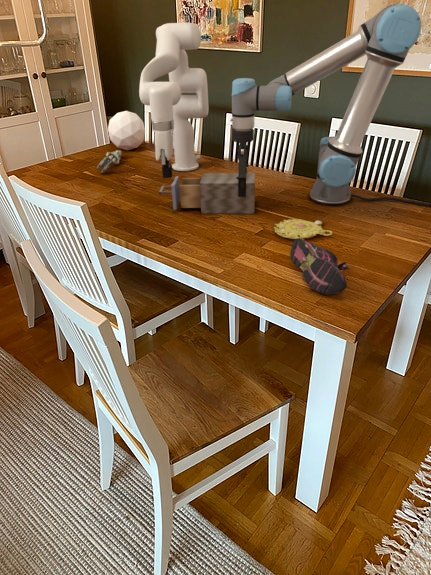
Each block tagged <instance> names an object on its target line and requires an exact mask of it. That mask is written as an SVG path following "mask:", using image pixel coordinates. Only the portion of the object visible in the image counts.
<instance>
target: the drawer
mask: <svg viewBox="0 0 431 575" xmlns="http://www.w3.org/2000/svg"><path fill="white" fill-rule="evenodd" d="M201 178H202V177H182V178H181V181H182V184H180V176H178V175H177V176H175V177H174V179H173V181H172V183H171V185H170V186H165V185H161V187H160V189H159V190H158V195H161V196H162V195H165V194H167V195H168V194H170V195H171V197H172V210H173V211H177V210H178V207H179V205H180V208H181V209H201V197H200V181H201ZM166 189H168V190H169V189H171V191H165V190H166Z"/></svg>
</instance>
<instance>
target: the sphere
mask: <svg viewBox="0 0 431 575" xmlns="http://www.w3.org/2000/svg"><path fill="white" fill-rule="evenodd" d="M107 131H108V135H109V141H111V142H112V143H113V145H115V146H116V148H118V149H122V150H125V151H130V150H134V149H136V148H138V147H139V146H141V145H142V144H143V143H144V142H145V136H146V129H145V124H144V121H143V120H142V119H141V117H140V116H139V115H138V114H137V113H136V112H132V111H129V110H124V111H120V112H116V114H115V115H113V116H112V117H111V118H110V119H109V122H108V125H107Z"/></svg>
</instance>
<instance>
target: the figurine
mask: <svg viewBox="0 0 431 575" xmlns="http://www.w3.org/2000/svg"><path fill="white" fill-rule="evenodd" d="M122 153H123V152H122V150H115V151H111V152H110V151H107V152H106V153H105V155H106V156H104V157H103V158H102V159H101V161H100V162H99V163H98V165H97V167H96V169H97V170H100V173H101V174H104V173H105V172H106V171H107V170H108V169H109V168H110V167H111V166H112V165H119V164H120V160H121V158H122V157H123V154H122Z"/></svg>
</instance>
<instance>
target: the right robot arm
mask: <svg viewBox="0 0 431 575" xmlns="http://www.w3.org/2000/svg"><path fill="white" fill-rule="evenodd" d="M421 30H422V20H421V17H420V15H419V13H418V12H417V10H416V9H415V8H414V7H413V6H410V5H408V4H404V3H397V4H391V5H388V6H386V7H384V8H382V9H381V10H380V11H379V12H377V13H376V14H375V15H373V16H372V17H371V18H369V19H368V20H367V21H365V22H363V23H362V24H360V25H359V26H358V28H357V30H356V31H354V32H353V33H351V34H349V35H348V36H346V37H345V38H342V39H341V40H340V41H338V42H336V43H334V44H333V45H331V46H329V47H328V48H326V49H324V50H323V51H321V52H319V53H317V54H316V55H314V56H312V57H310V58H309V59H307V60H305V61H304V62H302V63H301V64H299V65H297V66H295V67H294V68H292V69H290V70H289V71H287V72H285V73H284V74H282V75H281V76H279V77H275V78H274V79H272V80H270V81H269V82H268V84H267V85H257V84H256V80H255V79H254V78H249V77H241V78H236V79H233V81H232V84H231V115H232V116H231V118H230V119H229V121H230V122H231V128H232V130H231V140H232V141H233V143H238V144H237V145H236V152H237V160H238V173H239V176H238V177H236V179H238V197H246V173H248V172H247V171H248V168H249V163H248V161H247V160H248V156H249V155H248V154H249V144H247V143H252V142H253V141H254V140H255V129H254V128H255V111H263V112H264V111H265V112H267V111H269V112H286V111H287V112H288V111H290V110H291V107H292V99H293V98H292V97H293V96H294V95H296V94H298V93H300V92H302V91H303V90H305V89H307V88H308V87H310V86H312V85H314V84H316V83H317V82H319V81H321V80H323V79H325V78H327V77H328V76H330V75H332V74H334V73H335V72H337V71H339V70H341V69H343V68H345V67H347V66H348V65H350V64H352V63H353V62H356V61H357V60H359V59H362V58H363V57H364V56H366V58H367V60H366V62H365V64H364V66H363V69H362V72H361V74H360V77H359V79H358V82H357V83H356V87H355V88H354V91H353V93H352V95H351V98H350V101H349V103H348V106H347V108H346V110H345V112H344V116H343V117H342V120H341V122H340V124H339V127H338V130H337V132H336V134H335V136H325V137H322V138H321V139H320V143H319V145H318V146H319V151H318V163H317V172H316V178H315V180H314V183H313V184H312V185H311V186H310V193H309V199H310V200H311V201H312V202H314V203H316V204H320V205H325V206H343V205H346V204H348V203H350V201H351V199H352V198H356V199H359V200H362V201H366V202H371V201H372V202H374V201H382V200H387V201H388V200H389V201H395V202H403V203H407V204H408V203H409V204H415V205H422V206H426V207H427V206H428V207H431V203H430V202H423V201H418V200H412V199H406V198H405V199H404V198H399V197H390V196H380V197H379V196H378V197H364V196H360V195H358V194H353V193H352V192H351V187H350V183H352V181H353V180H354V178H355V176H356V173H357V168H356V167H357V166H358V163H359V161H360V159H361V156H362V154H363V149H362V147H361V146H362V143H363V141H364V139H365V136H366V133H367V132H368V130H369V127H370V125H371V123H372V121H373V119H374V116H375V114H376V111H377V109H378V107H379V105H380V103H381V101H382V99H383V96H384V93H385V92H386V90H387V87H388V85H389V83H390V80H391V79H392V77H393V74H394V71H395V69H396V68H398V67H400V66H401V65H403V64H404V62H405V60H406V58H407V56H408V53H409V51H410V50H411V49H412V47H414V45H415V44H416V42H417V41H418V40H419V37H420V35H421ZM240 175H244V176H240Z"/></svg>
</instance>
